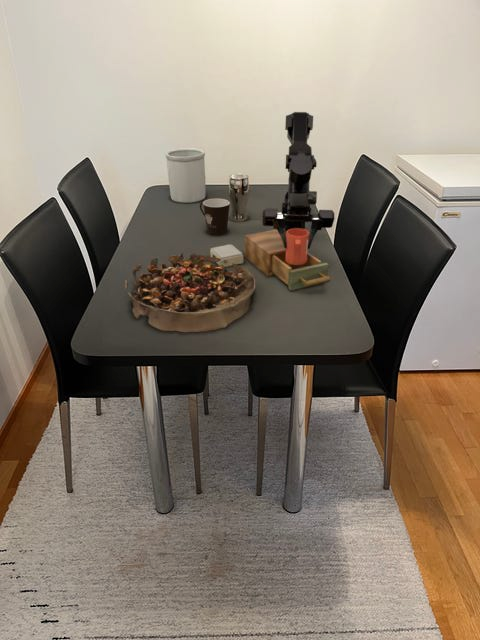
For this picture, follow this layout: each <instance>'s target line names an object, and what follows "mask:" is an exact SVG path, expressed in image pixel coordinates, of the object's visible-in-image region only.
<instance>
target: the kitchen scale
mask: <svg viewBox="0 0 480 640" xmlns="http://www.w3.org/2000/svg"><path fill="white" fill-rule="evenodd" d="M209 250H210V251H209V252H210V253H209V254H210V256H209V257H215V258H220V259H221V260H220V261H218V262H215V264H217V265H218V266H220V267H221V266H222V265H223V266H224V268H227V267H231V266H233V264H236V265H239V264H244V254H243V252H241V250H239V249H238V248H236V246H234V245H233V244H231V243H229V244H226V245H225V244H224V245H219V246H215V247H211V248H210V249H209ZM224 260H227V261H228V262H227V263H224V262H223V261H224ZM232 263H233V264H232Z"/></svg>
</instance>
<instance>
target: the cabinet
mask: <svg viewBox="0 0 480 640" xmlns="http://www.w3.org/2000/svg"><path fill="white" fill-rule="evenodd" d="M286 236H287V232H286ZM284 252H286V248H284V245H283V242H282V239H281V236H280V234H279V232H278V230H277V229H272V230H267V231H266V230H265V231H261V232H255V233H251V234H245V235H244V258H246V260H248V261H249V262H250V263H251V264H252V265H254V266H255V267H256V268H257V269H258V270H260V271H261V272H262V273H263V274H264V275H265V276H267V277H271V276H276V275H275V274H274V273H273V272H271V271H270V261H271V255H274V254H279V253H284Z"/></svg>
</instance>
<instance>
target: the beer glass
mask: <svg viewBox="0 0 480 640" xmlns="http://www.w3.org/2000/svg"><path fill="white" fill-rule="evenodd" d="M228 177H229V178H228V194H229V195H228V196H229V202H230V206H231V207H230V208H231V210H230V217H229V218H230V220H231V221H233V222H244V221H247V220H248V211H247V208H248V207H247V206H248V202H249V201H248V200H249V194H250V182H249V181H250V180H249V179H250V178H249V177H250V176H249V175H248V174H247V173H241V172H239V173H231V174H230V175H228Z"/></svg>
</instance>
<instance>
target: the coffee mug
mask: <svg viewBox="0 0 480 640" xmlns="http://www.w3.org/2000/svg"><path fill="white" fill-rule="evenodd" d="M230 206H231V201H230V200H228V199H225V198H209V199H205V200H204V201H201V202H200V204H199V209H200V212H201V213H202V215H203V217H204V218H205V225H206V232H207V234H208V235H210V236H215V237H219V236H224V235H227V232H228V224H229V216H230V215H229V214H230ZM202 207H203V208H202Z"/></svg>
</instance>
